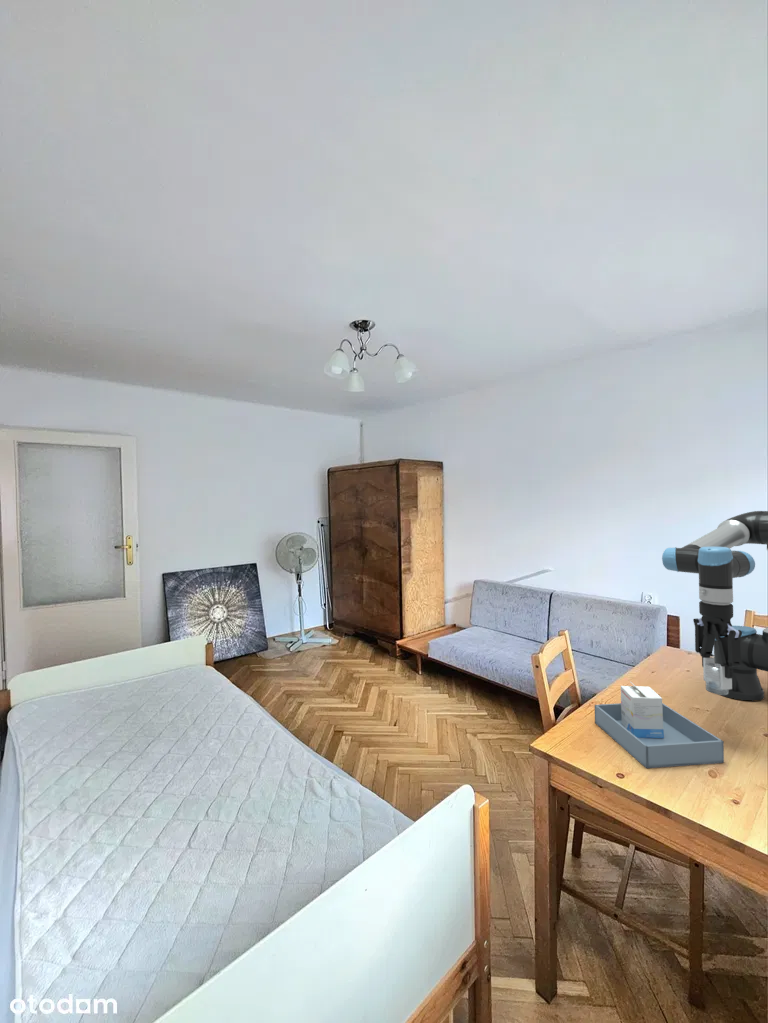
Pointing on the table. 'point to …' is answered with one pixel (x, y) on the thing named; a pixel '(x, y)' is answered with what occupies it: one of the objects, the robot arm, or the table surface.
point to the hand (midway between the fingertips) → (717, 684)
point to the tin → (714, 679)
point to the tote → (663, 739)
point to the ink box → (642, 711)
